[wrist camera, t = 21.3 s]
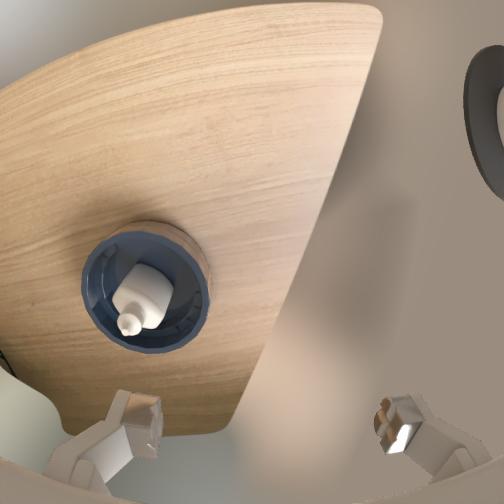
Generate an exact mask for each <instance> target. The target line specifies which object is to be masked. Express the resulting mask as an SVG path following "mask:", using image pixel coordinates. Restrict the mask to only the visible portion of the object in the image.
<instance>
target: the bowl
mask: <svg viewBox="0 0 504 504" xmlns="http://www.w3.org/2000/svg"><path fill="white" fill-rule="evenodd" d="M138 263H141V264H145V265H148V266H151V267H153V268H155V269H157V270H158V271H160V272H161V273H162V274H163V275H165V276H166V277H167V279H168V280H169V281H170V282H171V284H172V285H173V288H174V290H173V293H172V296H171V299H170V302H169V305H168V307H167V310H166V313H165V316H164V318H163V319H162V321H161V322H160V324H159V325H158V326H157V327H156V328H154V329H149V328H143V327H142V329H141V331H140V332H139V333H138V334H136V335H133V336H131V335H128V336H124V335H123V334H122V331H121V330H120V329H119V327H118V324H117V319H118V317H119V315H120V313H119V311H118V310H117V309H116V307H115V306H114V304H113V301H112V299H113V296H114V294H115V292H116V290H117V289H118V287H119V286H120V284H121V283H122V281H123V280H124V279H125V277H126V276H127V275H128V273H129V272H130V271H131V269H132V268H133V267H134V265H136V264H138ZM211 289H212V281H211V273H210V267H209V264H208V262H207V260H206V258H205V256H204V254H203V252H202V250H201V248H200V247H199V246H198V245H197V244H196V243H195V242H194V241H193V240H192V239H191V238H190V236H189V235H187V234H186V233H184V232H182V231H181V230H179V229H177V228H175V227H174V226H172V225H170V224H165V223H161V222H156V221H142V222H133V223H130V224H128V225H126V226H124V227H122V228H120V229H118V230H116V231H115V232H113V233H112V234H111V235H110V236H108V237H107V238H106V239H104V240H103V241H102V242H101V243H100V244H99V245H98V246H97V247H96V248H95V249H94V250H93V252H92V253H91V254H90V255H89V256H88V259H87V261H86V264H85V266H84V269H83V272H82V286H81V292H82V296H83V300H84V304H85V307H86V310H87V312H88V314H89V315H90V317H91V319H92V320H93V322H94V323H95V325H96V326H97V328H98V329H99V330H100V331H101V332H103V333H104V334H105V335H106V336H107V337H108V338H109V339H110V340H112V341H113V342H115V343H117V344H119V345H121V346H123V347H124V348H126V349H129V350H133V351H137V352H141V353H145V354H158V353H167V352H170V351H173V350H176V349H179V348H182V347H183V346H184V345H186V344H187V343H188V342H190V341H191V340H192V339H194V338H195V337H196V336H197V335H198V333H199V332H200V330H201V329H202V327H203V325H204V324H205V322H206V320H207V315H208V311H209V306H210V299H211Z"/></svg>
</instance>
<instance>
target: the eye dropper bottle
mask: <svg viewBox="0 0 504 504" xmlns="http://www.w3.org/2000/svg"><path fill="white" fill-rule="evenodd" d="M173 290H174V288H173V285H172V284H171V282H170V281H169V280H168V279H167V277H166V276H165V275H163V274H162V273H161V272H160V271H158V270H157V269H155V268H153V267H151V266H148V265H145V264H141V263H138V264H136V265H134V267H133V268H132V269H131V271H130V272H129V273H128V275H127V276H126V277H125V279H124V280H123V281H122V283H121V284H120V286H119V287H118V289H117V290H116V292H115V294H114V296H113V299H112V301H113V304H114V306H115V307H116V309H117V310H118V311H119V313H120V315H119V317H118V319H117V324H118V327H119V329H120V330H121V331H122V334H123V335H124V336H128V335H131V336H133V335H136V334H138V333H139V332H140V331H141V329H142V327H143V328H149V329H154V328H156V327H157V326H158V325H159V324H160V322H161V321H162V319H163V318H164V316H165V313H166V310H167V307H168V305H169V302H170V299H171V296H172V293H173Z"/></svg>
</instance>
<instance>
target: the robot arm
mask: <svg viewBox="0 0 504 504" xmlns="http://www.w3.org/2000/svg"><path fill="white" fill-rule="evenodd" d="M497 123H498V129H499V134H500V138H501V141H502V144H503V146H504V87H503V88H502V90H501V92H500V94H499V97H498V103H497ZM161 404H162V403H161V397H160V396H155V395H149V394H143V393H137V392H130V391H124V390H118V391H117V392H116V395H115V397H114V399H113V402H112V404H111V407H110V409H109V412H108V414H107V417H106V419H105V421H102V420H101V421H99V422H98V423H96V424H95V425H93V426H91V427H90V428H88V429H87V430H85V431H83V432H82V433H80V434H78V435H77V436H75V437H74V438H72V439H70V440H69V441H67V442H66V443H64V444H62V445H60V446H59V447H57V448H55V449H54V450H53V453H52V455H51V457H50V459H49V461H48V463H47V466H46V468H45V470H44V473H43V475H40V474H38V473H35V472H33V471H30V470H28V469H25V468H23V467H21V466H18V465H16V464H14V463H12V462H10V461H7V460H5V459H3V458H1V457H0V504H145V503H139V502H133V501H129V500H124V499H120V498H115V497H112V496H111V494H110V492H109V490H108V489H107V486H106V485H105V483H106V482H107V481H108V480H109V479H110V478H111V477H113V475H115V474H116V473H117V472H118V471H119V470H120V469H121V468H123V467H124V466H125V465H126V464H127V463H128V462H129V461H130V460H131V459H132V458H133V456H136V457H142V458H149V459H157V455H158V450H159V439H158V438H160V437H161V436H162V431H163V412H162V411H161V410H160V408H161ZM381 406H382V408H381V409H380V410H379V411H378V412H377V413H376V415H375V418H374V429H375V432H376V434H377V435H378V436H380V437H381V438H382V439H381V442H380V444H381V446H382V448H383V450H384V452H385V455H387V454H393V453H399V452H404V453H405V454H406V455H407V456H409V457H410V458H411V459H412V460H413V461H415V462H416V463H417V464H418V465H420V466H421V467H422V468H423V469H425V470H426V471H427V472H428V473H429V474H431V475H432V476H433V478H432V480H431V481H430V482H429V483H428V484H427V485H426V486H423V487H420V488H416V489H413V490H409V491H406V492H402V493H398V494H394V495H391V496H386V497H382V498H378V499H373V500H368V501H363V502H358V503H352V504H504V454H503V455H501V456H499V457H497V458H495V459H492V457H491V456H490V455H489V453H488V451H487V450H486V448H485V447H484V445H483V444H482V442H481V441H480V440H479V439H477V438H475V437H473V436H471V435H469V434H468V433H466V432H464V431H462V430H460V429H458V428H456V427H455V426H453V425H451V424H449V423H447V422H446V421H443V420H442V419H440V418H436V417H435V416H434V414H433V413H432V411H431V409H430V408H429V406H428V405H427V403H426V402H425V400H424V399H423V397H422V396H421V394H419V393H411V394H407V395H398V396H391V397H385V398H384V399H383V400H382V402H381Z"/></svg>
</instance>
